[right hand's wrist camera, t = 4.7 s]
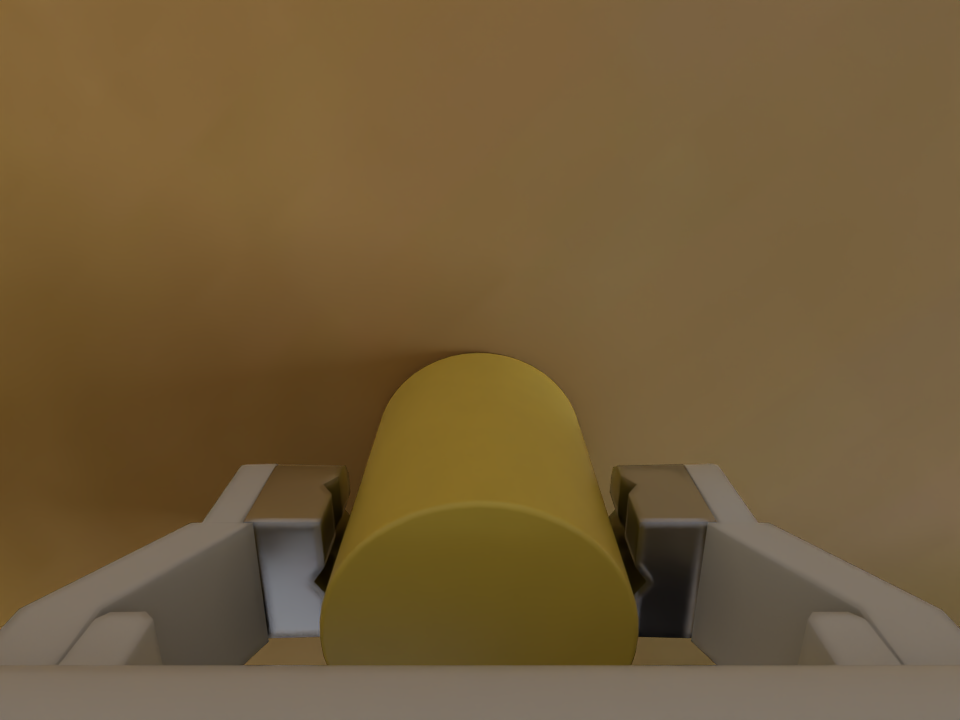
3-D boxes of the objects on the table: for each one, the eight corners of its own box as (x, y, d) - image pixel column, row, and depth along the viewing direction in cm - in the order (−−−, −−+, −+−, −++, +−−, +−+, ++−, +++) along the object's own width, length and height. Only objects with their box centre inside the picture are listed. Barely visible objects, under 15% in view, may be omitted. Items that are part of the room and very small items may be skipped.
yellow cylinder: (597, 364, 11) (672, 522, 7) (562, 542, 13) (606, 771, 8) (385, 339, 11) (324, 485, 7) (371, 522, 12) (312, 744, 8)
